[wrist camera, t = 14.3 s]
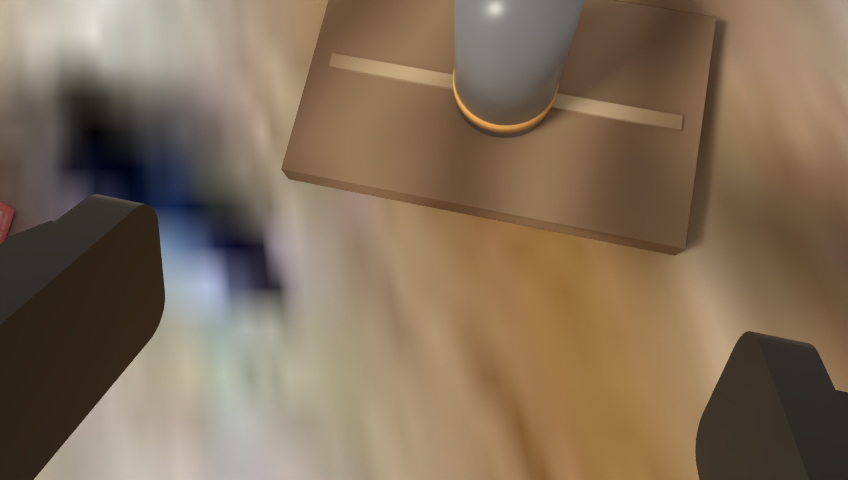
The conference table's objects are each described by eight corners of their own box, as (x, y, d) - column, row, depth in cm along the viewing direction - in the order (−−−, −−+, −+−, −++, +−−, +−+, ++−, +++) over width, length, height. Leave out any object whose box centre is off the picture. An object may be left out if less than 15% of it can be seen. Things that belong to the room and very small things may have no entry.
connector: (562, 55, 28) (609, -96, 20) (545, 147, 27) (586, 30, 19) (463, 38, 28) (468, -117, 20) (443, 128, 28) (439, 5, 19)
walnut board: (706, 32, 30) (717, 15, 28) (675, 255, 27) (686, 247, 26) (345, -28, 31) (340, -48, 30) (288, 178, 29) (280, 167, 27)
